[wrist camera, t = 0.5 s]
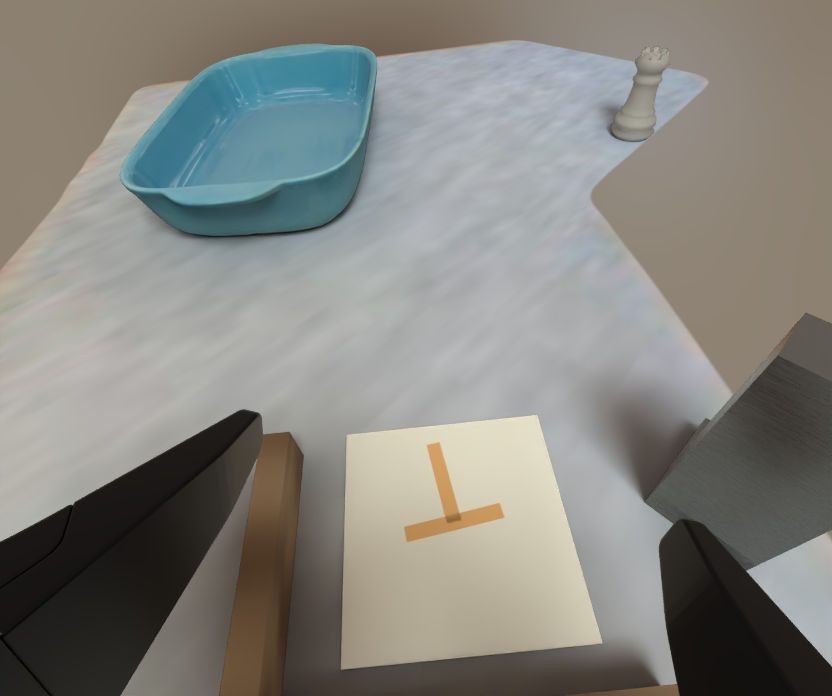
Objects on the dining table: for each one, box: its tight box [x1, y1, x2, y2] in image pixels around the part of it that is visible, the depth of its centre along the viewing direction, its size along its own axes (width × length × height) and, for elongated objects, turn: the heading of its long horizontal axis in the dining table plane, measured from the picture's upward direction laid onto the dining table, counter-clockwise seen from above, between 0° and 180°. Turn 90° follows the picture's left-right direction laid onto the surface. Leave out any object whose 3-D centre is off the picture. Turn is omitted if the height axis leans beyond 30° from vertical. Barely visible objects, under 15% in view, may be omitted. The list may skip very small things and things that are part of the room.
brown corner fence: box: [219, 432, 679, 696], centre depth 22 cm, size 14×18×3 cm
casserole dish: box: [120, 44, 377, 236], centre depth 48 cm, size 37×22×7 cm, turn 0°
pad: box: [341, 415, 603, 670], centre depth 24 cm, size 12×12×1 cm
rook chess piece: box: [611, 46, 670, 142], centre depth 46 cm, size 4×4×8 cm
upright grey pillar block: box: [645, 313, 832, 571], centre depth 19 cm, size 5×6×13 cm
